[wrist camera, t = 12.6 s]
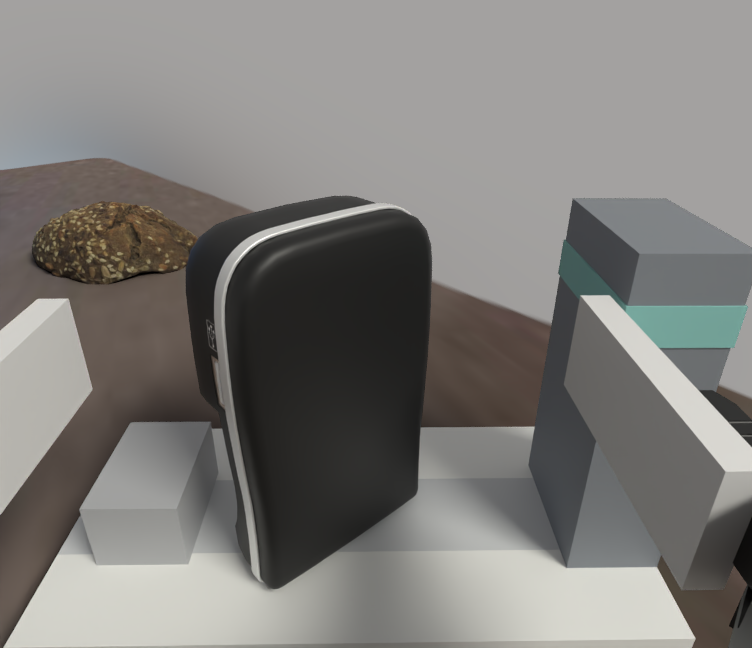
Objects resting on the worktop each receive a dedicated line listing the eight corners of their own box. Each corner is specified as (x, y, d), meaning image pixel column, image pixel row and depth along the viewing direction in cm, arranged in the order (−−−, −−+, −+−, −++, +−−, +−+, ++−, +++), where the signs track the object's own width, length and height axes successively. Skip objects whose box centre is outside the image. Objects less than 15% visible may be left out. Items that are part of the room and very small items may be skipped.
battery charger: (360, 447, 24) (358, 175, 19) (425, 496, 22) (443, 199, 16) (209, 533, 20) (152, 216, 15) (267, 606, 18) (224, 255, 12)
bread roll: (22, 256, 49) (5, 199, 47) (159, 225, 57) (150, 175, 54) (76, 303, 41) (58, 237, 38) (228, 260, 48) (221, 202, 46)
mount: (136, 455, 26) (70, 178, 20) (576, 452, 26) (634, 180, 21) (18, 679, 17) (-162, 298, 11) (684, 670, 17) (840, 297, 12)
